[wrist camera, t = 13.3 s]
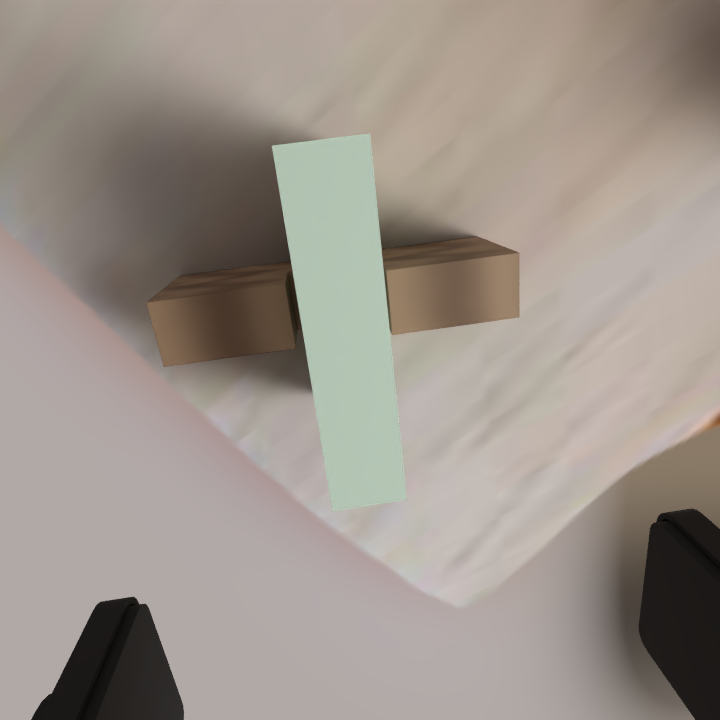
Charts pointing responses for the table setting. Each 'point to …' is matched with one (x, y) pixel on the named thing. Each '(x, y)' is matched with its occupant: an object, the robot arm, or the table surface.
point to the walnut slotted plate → (281, 312)
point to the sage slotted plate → (344, 314)
